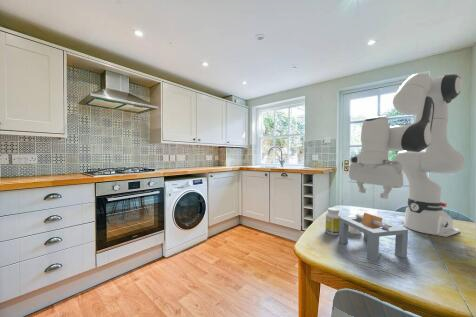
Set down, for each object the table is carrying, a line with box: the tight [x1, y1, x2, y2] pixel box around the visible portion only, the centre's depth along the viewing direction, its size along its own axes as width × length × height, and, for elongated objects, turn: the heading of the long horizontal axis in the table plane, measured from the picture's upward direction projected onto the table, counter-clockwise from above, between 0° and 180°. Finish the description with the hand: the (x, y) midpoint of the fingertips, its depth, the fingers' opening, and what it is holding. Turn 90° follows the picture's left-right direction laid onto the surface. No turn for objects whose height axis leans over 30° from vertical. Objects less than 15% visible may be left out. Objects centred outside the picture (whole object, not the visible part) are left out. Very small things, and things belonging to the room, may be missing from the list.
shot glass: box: [346, 214, 363, 235], centre depth 94 cm, size 7×7×7 cm
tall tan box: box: [360, 212, 384, 235], centre depth 77 cm, size 6×3×8 cm, turn 102°
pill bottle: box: [325, 207, 342, 236], centre depth 92 cm, size 6×6×11 cm
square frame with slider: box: [338, 213, 409, 263], centre depth 77 cm, size 15×16×12 cm
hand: (372, 195), depth 77 cm, fingers open, 8 cm apart
